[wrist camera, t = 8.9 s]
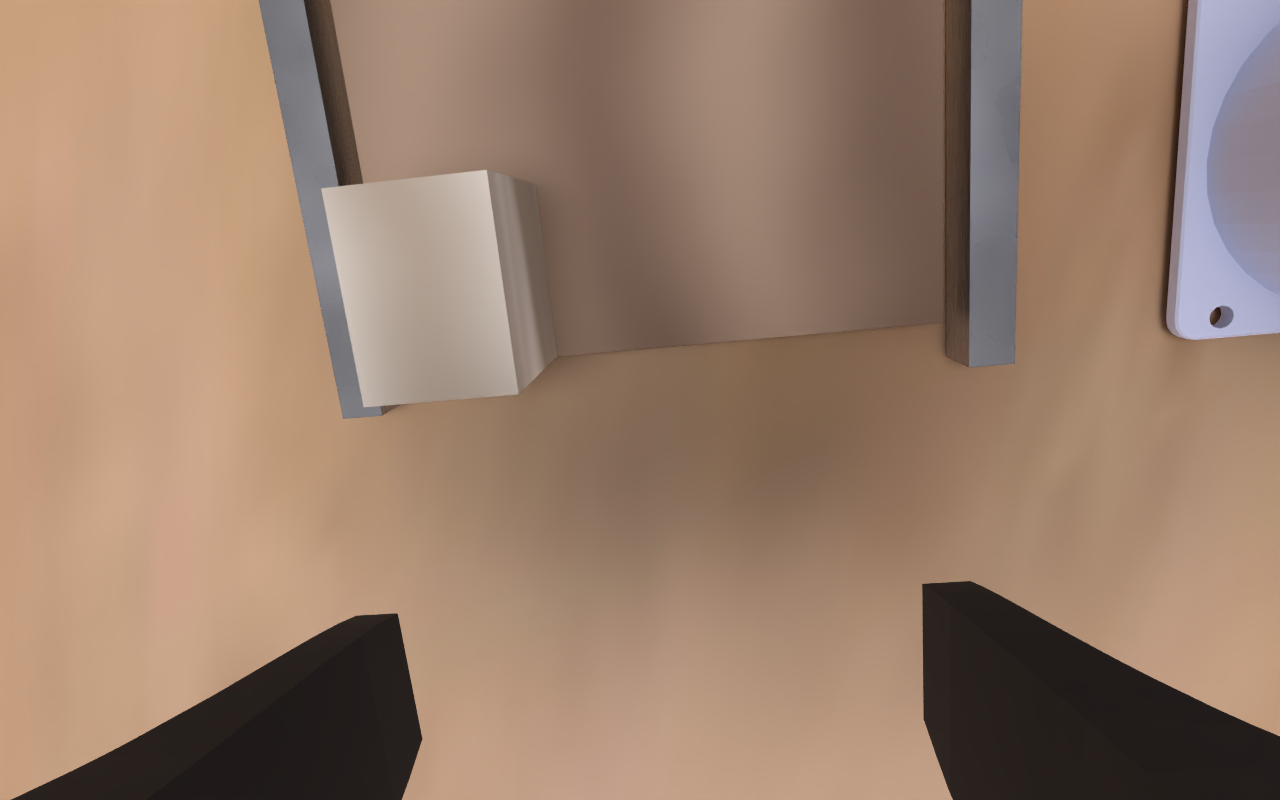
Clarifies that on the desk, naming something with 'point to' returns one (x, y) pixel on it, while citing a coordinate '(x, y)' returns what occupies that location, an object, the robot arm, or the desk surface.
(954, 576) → the desk surface
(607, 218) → the shallow tray
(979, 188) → the guide rails
